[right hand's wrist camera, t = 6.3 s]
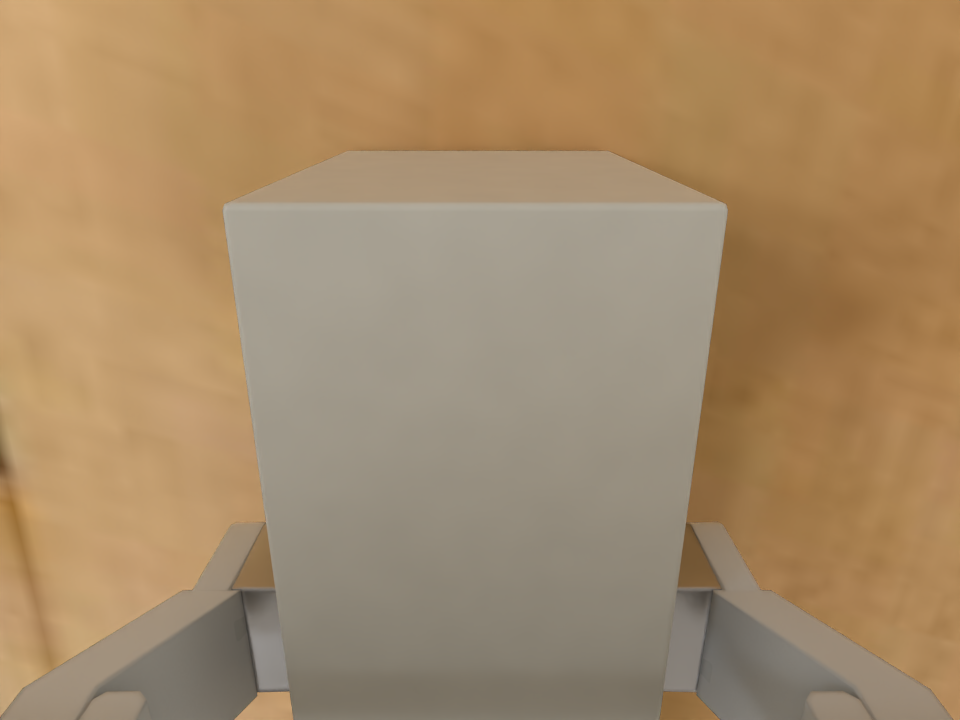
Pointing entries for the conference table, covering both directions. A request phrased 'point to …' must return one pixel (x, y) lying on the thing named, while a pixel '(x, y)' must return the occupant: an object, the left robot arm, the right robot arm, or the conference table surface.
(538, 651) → the post
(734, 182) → the conference table surface
